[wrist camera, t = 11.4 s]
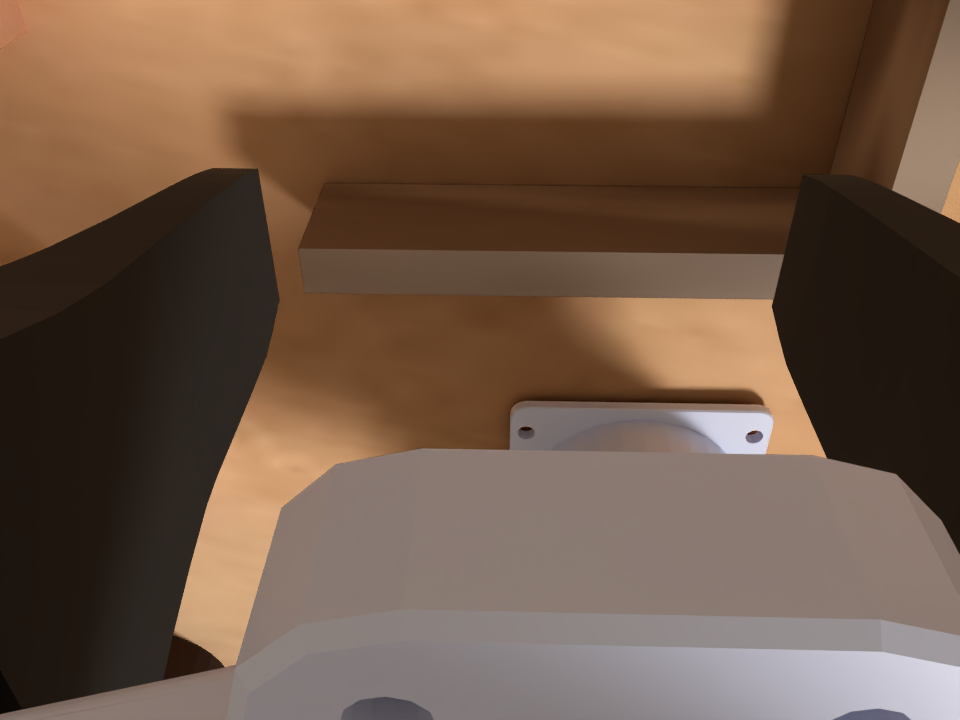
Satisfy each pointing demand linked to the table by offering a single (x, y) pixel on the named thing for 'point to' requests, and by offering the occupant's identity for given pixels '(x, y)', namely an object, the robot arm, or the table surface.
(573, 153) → the table surface
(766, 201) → the open box
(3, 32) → the terracotta block
